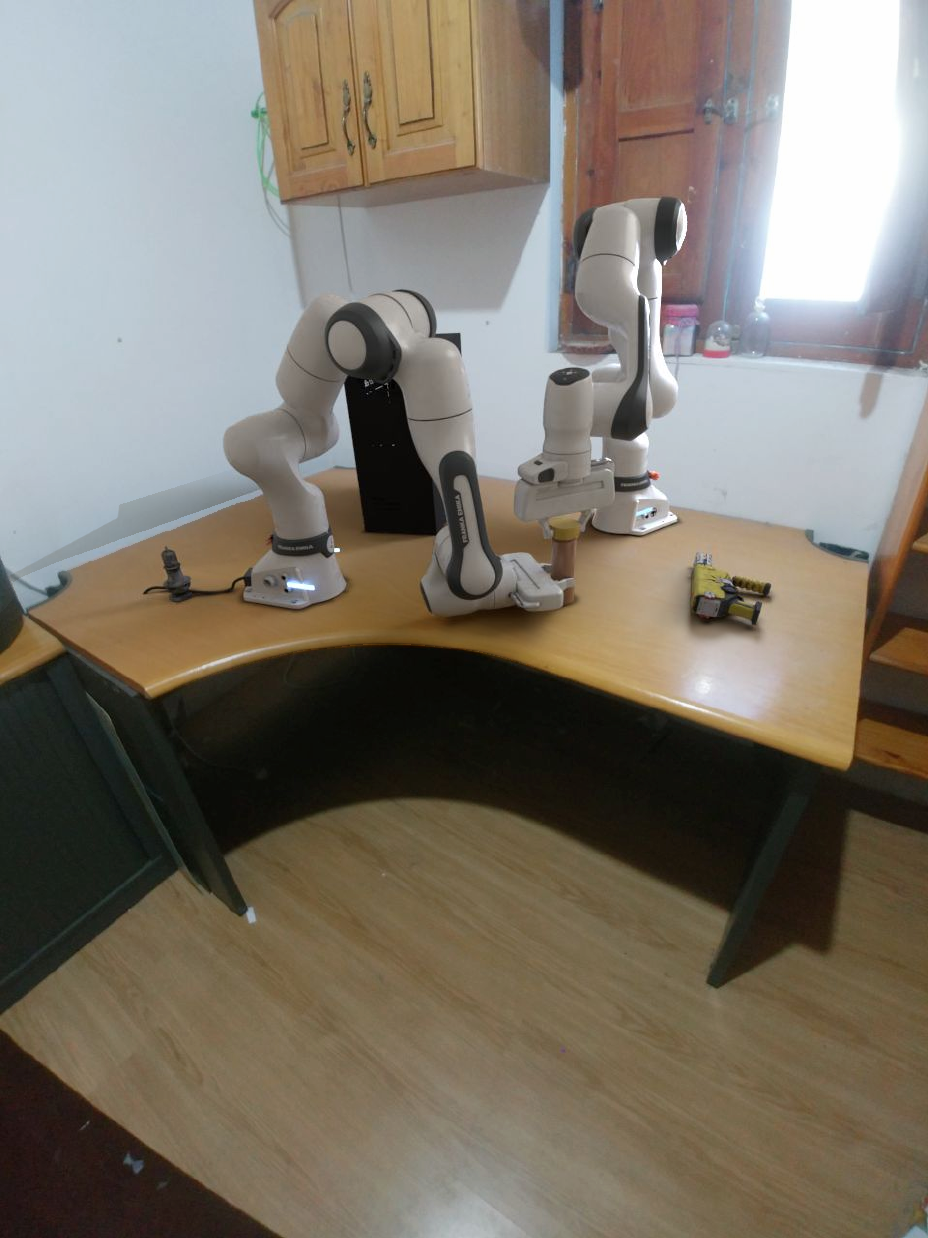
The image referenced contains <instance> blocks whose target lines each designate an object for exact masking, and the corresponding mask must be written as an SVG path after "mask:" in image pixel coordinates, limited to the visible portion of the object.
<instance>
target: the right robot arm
mask: <svg viewBox="0 0 928 1238" xmlns="http://www.w3.org/2000/svg"><path fill="white" fill-rule="evenodd" d="M687 223H688V221H687V214H686V211H685V205H684V203H683V202H682V201H681V199H680V198H678V197H675V196H667V195H665V196H664V195H663V196H662V197H659V198H657V197H644V198H631V199H628V200H626V201H620V202H619V201H618V202H615V203H610V204H607V205H603V206H597V205H595V206H593V207H590V208H588V209H585V210H583V211H582V212H581V213H580V215H579V216H578V217H577V219H576V221H575V223H574V227H573V233H572V234H573V235H572V246H573V247H572V248H573V253H574V257H575V258H576V260H577V261H578V267H577V273H576V279H575V285H574V286H575V288H574V289H575V290H574V294H575V301H576V303H577V306H578V308H579V309H580V311H581V312H582V313H583V315H584V316H586V318H589V320H590V321H592V322H593V323H595V324H597V325H599V326H601V327H602V326H603V327H606V328H607V336H608V337H607V338H608V341H609V343H610V345H611V346H612V347H613V349H614V351H615V352H616V354H617V357H618V361H619V362H615V363H614V362H613V363H607V364H603V365H600V366H597V367H596V368H595V369H594V370H593V371H592V372H591V371H590V370H588V369H586V368H583V367H578V366H573V367H572V366H571V367H570V366H569V367H564V368H560V369H557V370H555V371H553V372H552V373H550V374H549V376H548V377H547V380H546V384H545V385H546V386H545V392H544V399H543V408H542V409H543V411H542V426H543V430H544V440H543V444H542V452H541V453H539V454H538V455H536V456H534V457H533V458H531V459H529V460H527V461H525V462H523V463H521V464H519V465H518V466H517V475H518V477H520V479H518V481H517V482H516V484H515V487H514V496H513V514H514V516H515V517H516V518H517V519H518V520H519V521H521V522H523V523H530V522H535V521H537V523H538V524H539V526H540V527H541V529H542V537H543V538H544V539H545V540H550V539H552V538H553V537H554V535H553V534H554V530H553V529H551V528H550V527H549V526H548V524H550V519H551V518H556V517H560V516H566V515H570V514H576V513H580V516H579V518H578V519H577V521H578V522H579V525H580V529H579V533H582V532H586V524H587V522H588V520H589V519H590V518H591V516H592V510H595V511H594V514H593V517H592V520H591V525H592V526H593V527H594V528H595V529H597V530H599V531H601V532H605V533H611V534H623V535H625V534H626V535H632V536H633V535H634V536H645V535H646V534H650V533H652V532H654V531H657V530H660V529H662V528H665V527H668V526H670V525H672V524H675V523H677V522H678V516H677V515H676V514H675V513H674V512H672V511H670V503H669V502H670V501H669V498H668V497H667V496H666V495H665V494H664V493H663V492H661V491H660V490H659V489H658V488H656V487H655V486H654V485H652V483H651V480H653V481H658V479H659V478H660V473H659V472H657V471H654V470H651V471H649V470H648V469H647V466H648V458H649V457H648V456H649V446H650V441H649V437H648V435H647V434H646V431H647V430H649V427H650V425H651V422H652V420H655V419H662V418H664V417H666V416H667V415H669V413H670V412H671V411H672V410H673V408H675V405H676V404H677V403H676V402H677V400H678V397H679V386H678V382H677V380H676V379H675V377H674V376H673V375H672V374H671V372H670V371H669V369H668V366H667V364H666V361H665V358H664V354H663V351H662V344H661V338H660V320H661V303H662V267H663V266H666V263H667V262H668V261H669V260H671V259H673V258H674V257H675V256H676V254H678V252H679V251H680V249H681V247H682V244H683V241H684V239H685V237H686V233H687V225H688V224H687ZM591 438H601V440H602V447H601V448H602V449H601V450H602V451H601V458H597V459H596V458H595V459H592V449H593V445H592V440H591Z"/></svg>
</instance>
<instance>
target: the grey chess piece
mask: <svg viewBox="0 0 928 1238" xmlns="http://www.w3.org/2000/svg"><path fill="white" fill-rule="evenodd" d="M160 556H161V559H162V562H163V567H162V568H163V570H165V572H166V575H167V579H166V580H165V581H164V582H163V583H162V586H164V587H165V588H166V589H167V590H166V591H167V592H168V593H170V595H169V596H168V599H169V601H172V602H180V601H185V600H187V599H190V598H192V597H193V596H194V595H195V594H194V593H192V592H189V591H187V590H190V588H191V585H192V582H191V581H192V577H191V576H189V575H184V573H183V571H182V569H181V566H182V563H181V562H179V559H178V557H177V554H176V551H175V550H173V549H169V547H168V546H165V547H164V550H163V551H162V552H161V553H160Z"/></svg>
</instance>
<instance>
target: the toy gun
mask: <svg viewBox="0 0 928 1238" xmlns="http://www.w3.org/2000/svg"><path fill="white" fill-rule="evenodd" d="M703 553H704V552H702V551H698V552H696V553H695V557H694V560H693V565H692V566H693V568H692V570H693V571H692V576H691V599H690V601H691V602H690V603H691V604H690V610H691V612H692V614H697V615H699V617H700V618H705V619H710V617H712V618H722V617H724V616H726V615H727V614H729V615H732V616H737V617H740V618H743V619H746V620H748V621H751V625H752V626H756V625H757V623H758V619H759V616H760V613H761V610H762V606H763V602H762V601H759V600H756V601H755V603H754V604H753V603H749V602H746V601H745V600H744V597H743V596H741V595H739V593H740V592H739V588H740V589H741V590H743V589H745V590H746V591H752V592H754V593H758V594H761V595H763V596H768V595H769V594H770V591H771V588H772V584H771V583H770V582H764V581H762V582H761V581H760V580H754V579H752V578H747V577H746V576H743V577H741V576H740V575H736V574H735V575H734V576H732V577H731V576H730V574H729V573H728V571H724V570H721V569H717V568H715V567H714V566H713V556H712V554H711V553H708V552H706V554H705V555H704V554H703Z"/></svg>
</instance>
